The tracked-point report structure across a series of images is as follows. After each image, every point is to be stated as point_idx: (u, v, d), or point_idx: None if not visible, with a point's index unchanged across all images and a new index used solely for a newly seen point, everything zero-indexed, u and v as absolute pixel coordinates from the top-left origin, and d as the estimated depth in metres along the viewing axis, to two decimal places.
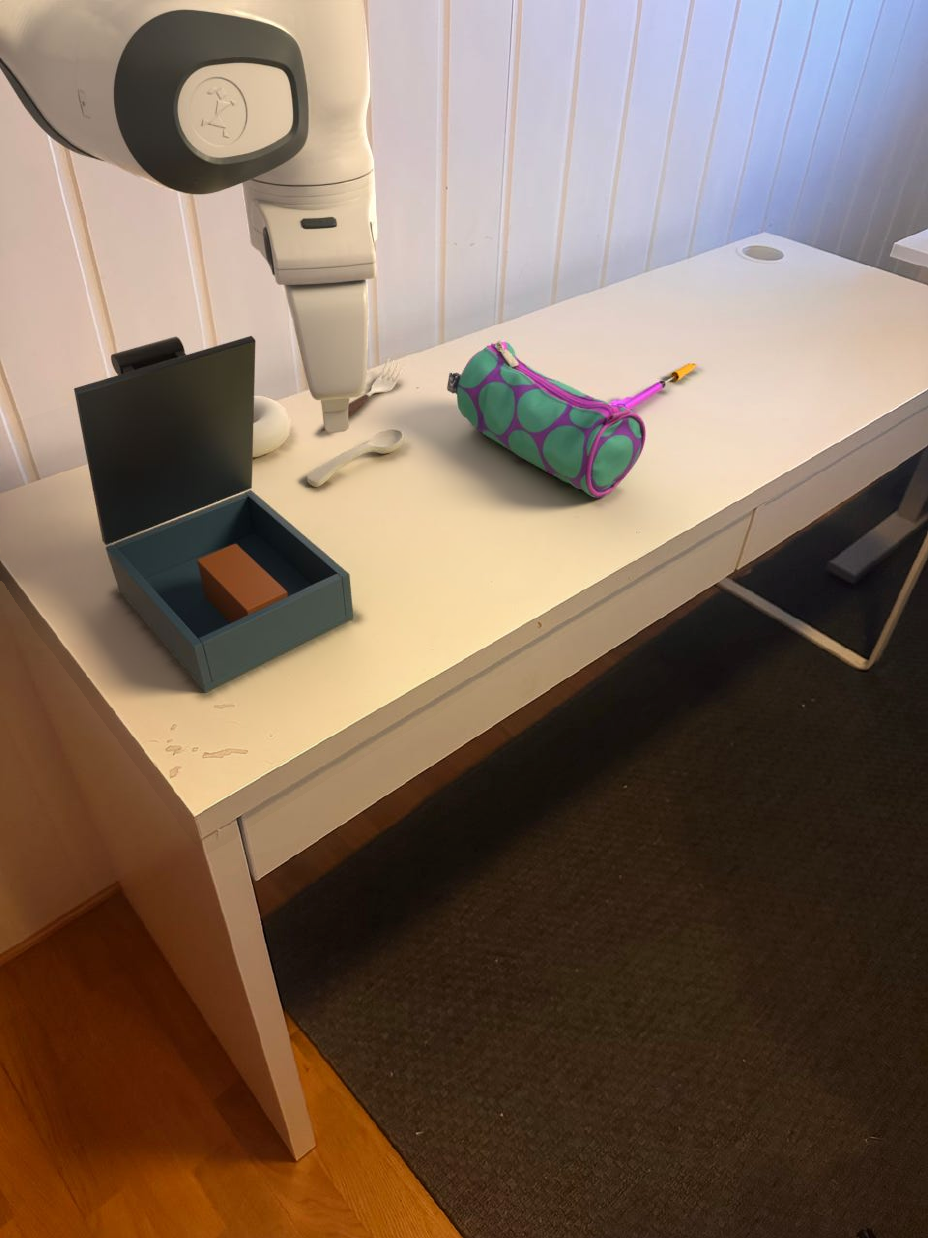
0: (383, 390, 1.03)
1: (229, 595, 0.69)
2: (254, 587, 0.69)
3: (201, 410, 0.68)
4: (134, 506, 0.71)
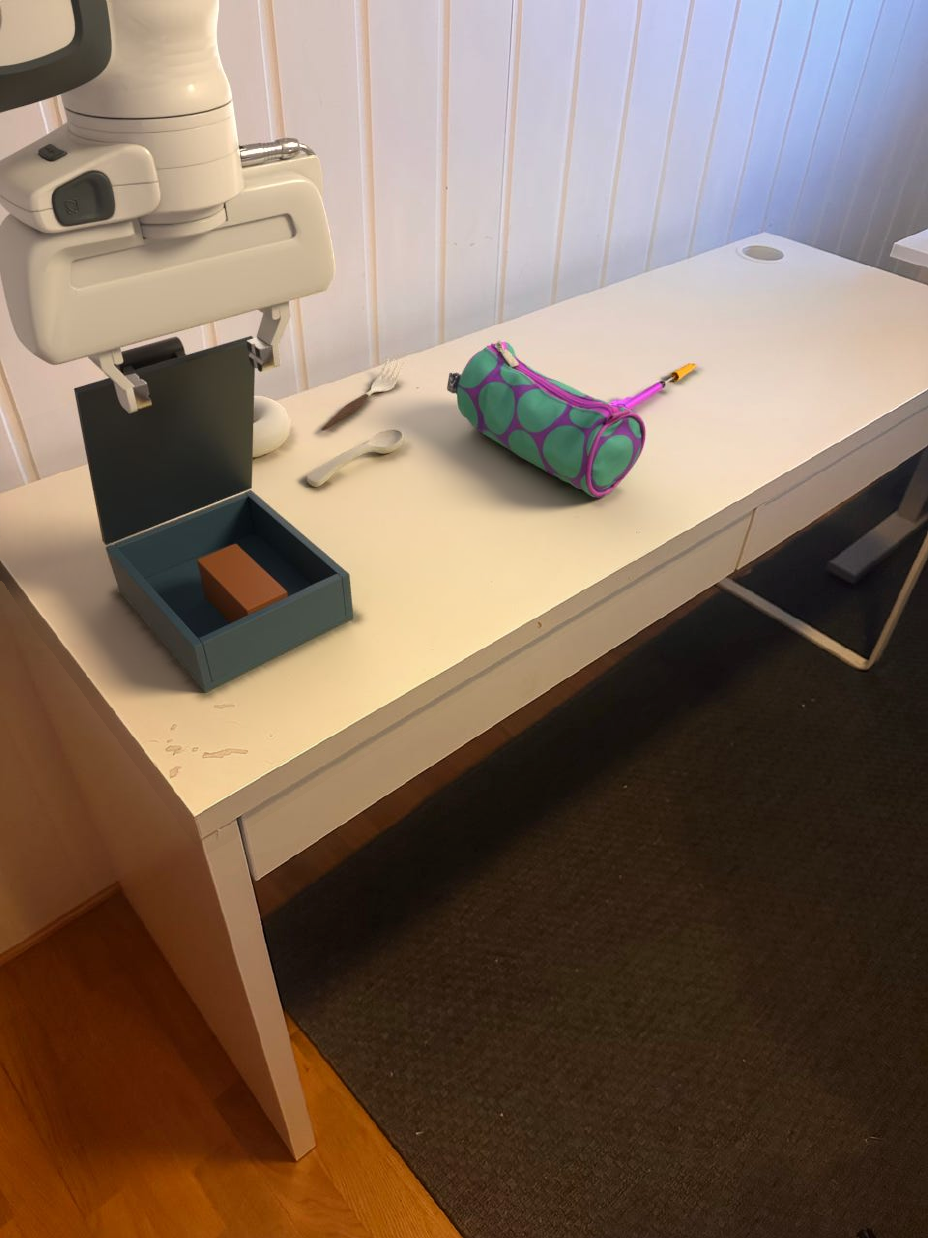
0: (383, 389, 1.03)
1: (229, 595, 0.69)
2: (254, 587, 0.69)
3: (201, 410, 0.68)
4: (134, 506, 0.71)
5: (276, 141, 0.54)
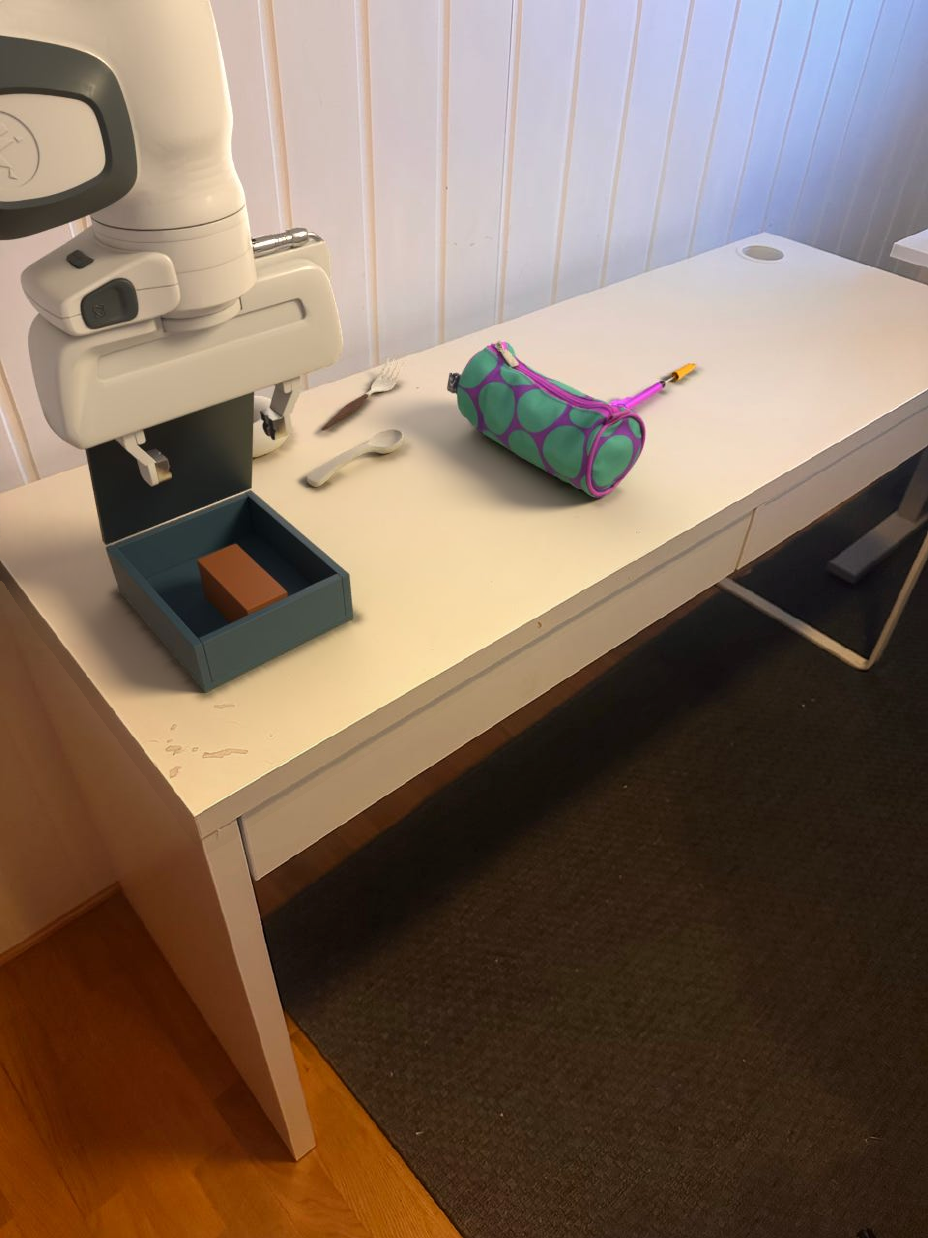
0: (383, 389, 1.03)
1: (229, 595, 0.69)
2: (254, 587, 0.69)
3: (201, 410, 0.68)
4: (134, 506, 0.71)
5: (286, 231, 0.57)
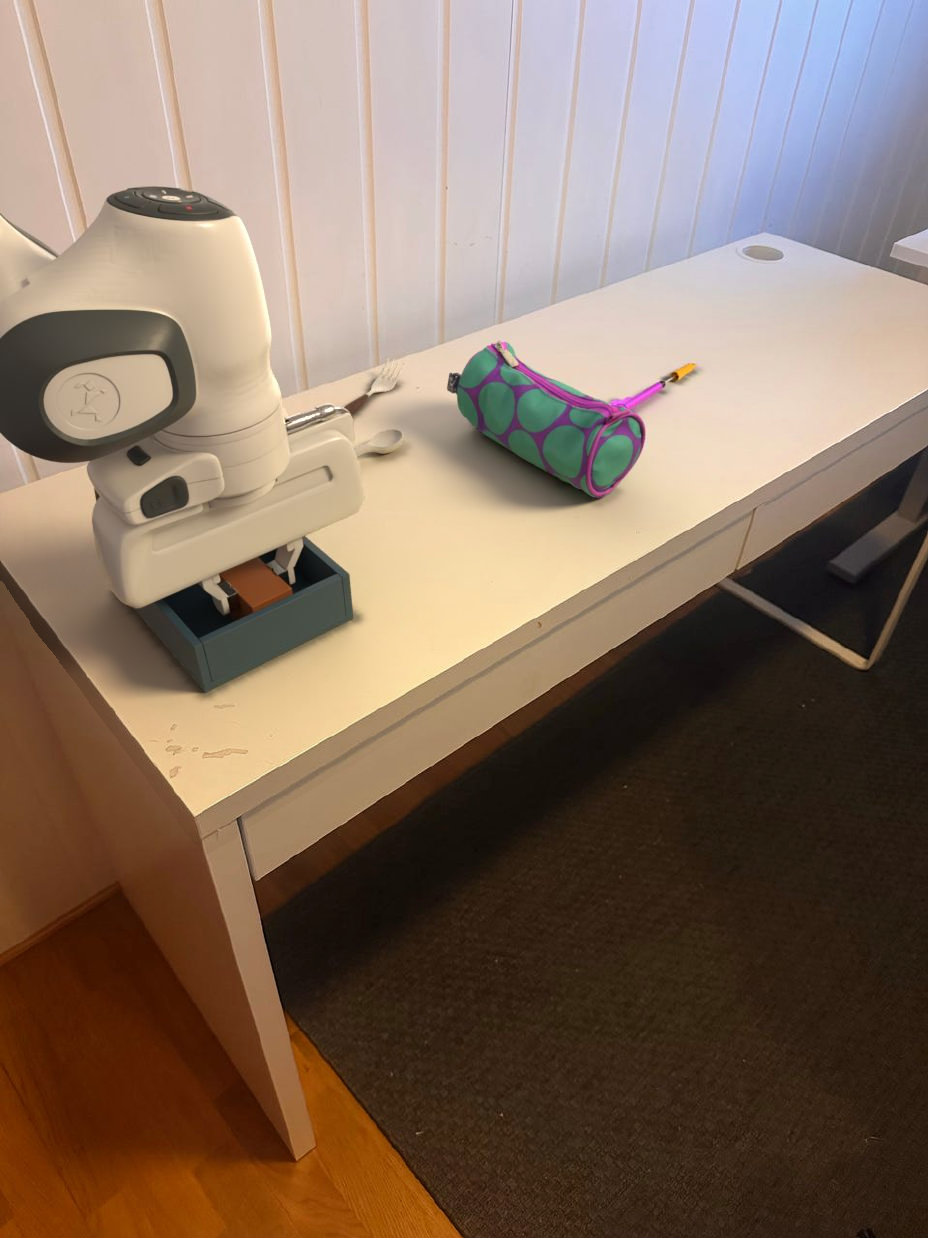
0: (383, 390, 1.03)
1: None
2: (258, 584, 0.69)
3: None
4: None
5: (316, 409, 0.65)
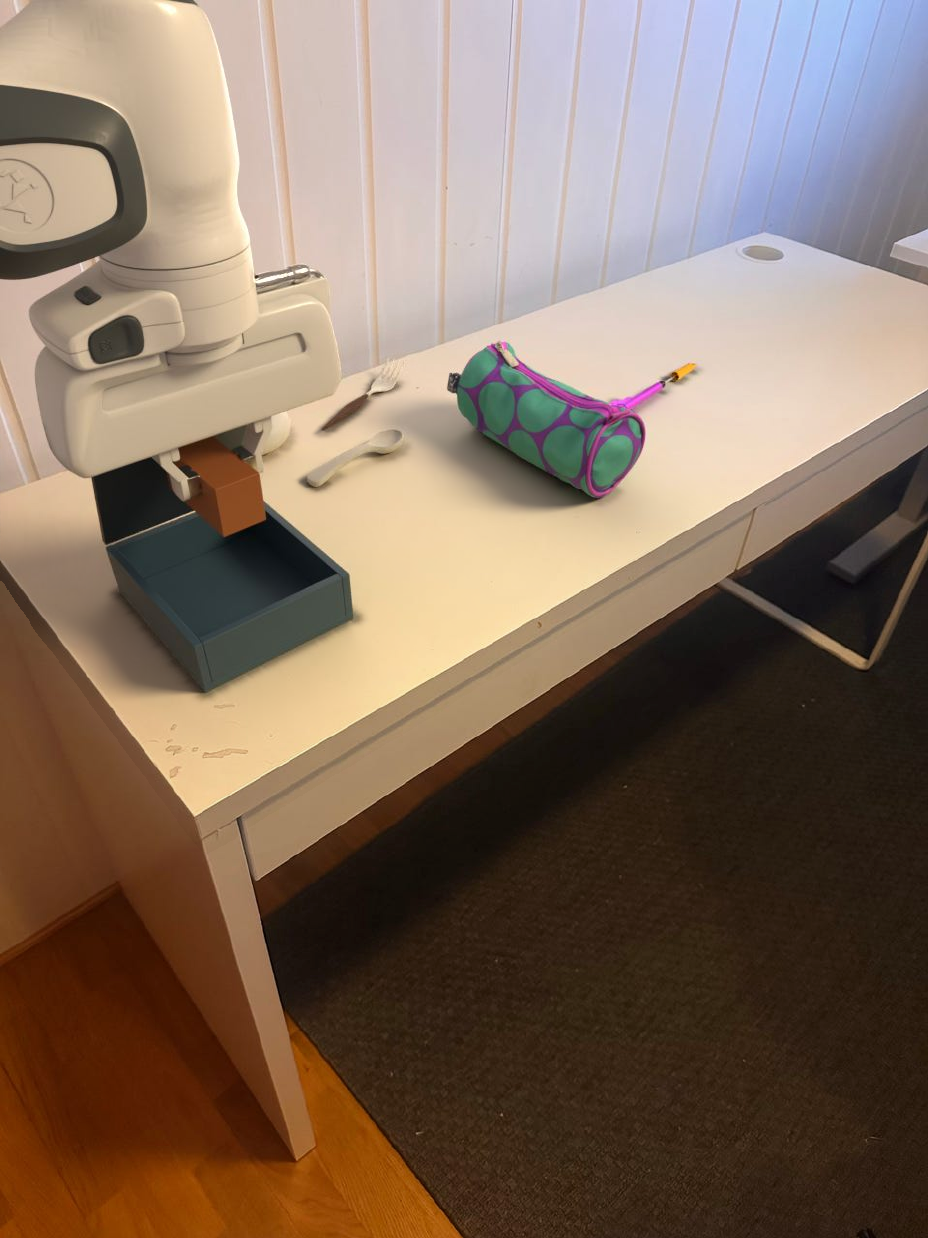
0: (383, 389, 1.03)
1: None
2: (223, 468, 0.63)
3: None
4: (134, 507, 0.71)
5: (288, 268, 0.59)
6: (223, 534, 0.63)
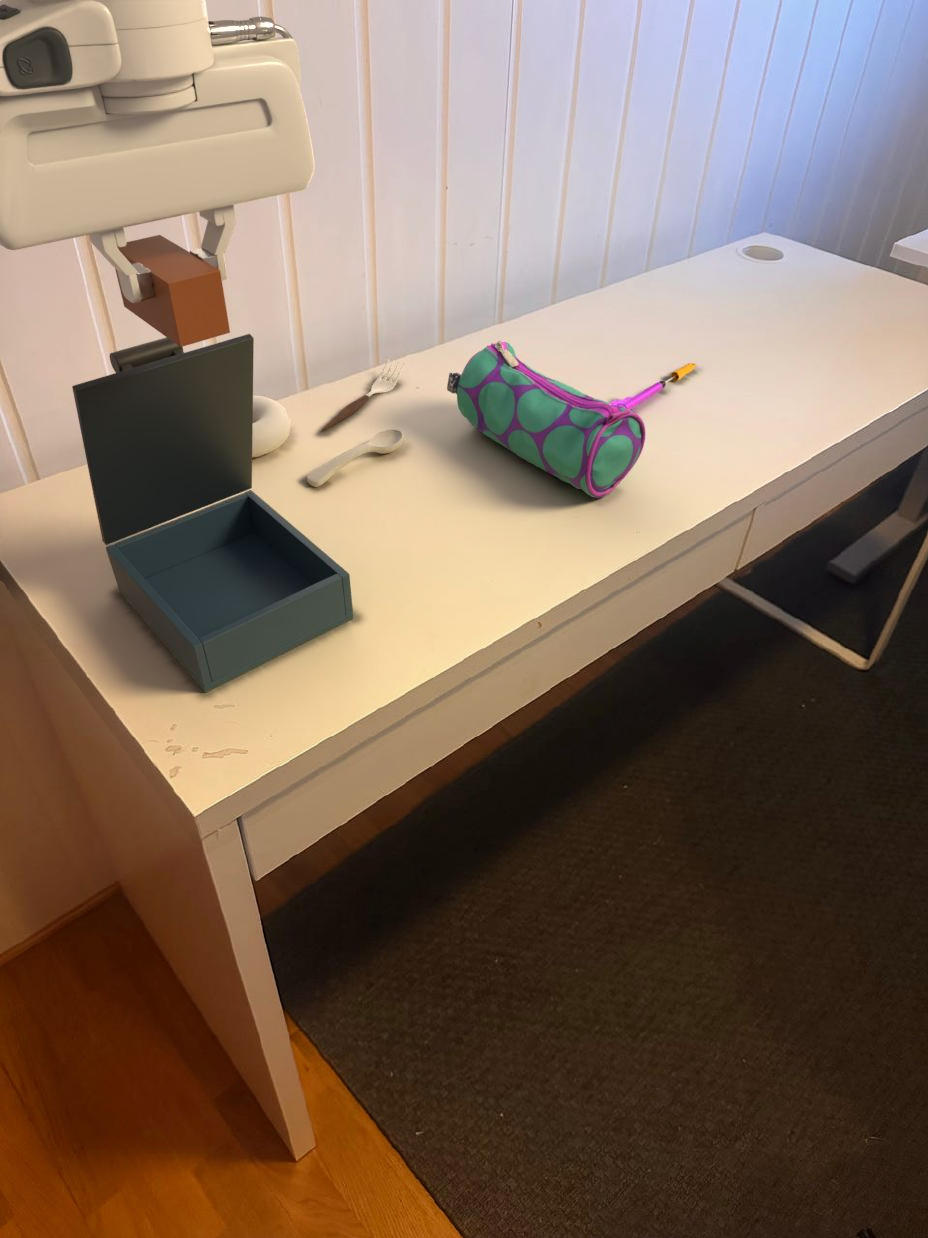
0: (383, 390, 1.03)
1: None
2: (178, 266, 0.55)
3: (200, 408, 0.68)
4: (134, 506, 0.71)
5: (249, 20, 0.51)
6: (180, 343, 0.55)
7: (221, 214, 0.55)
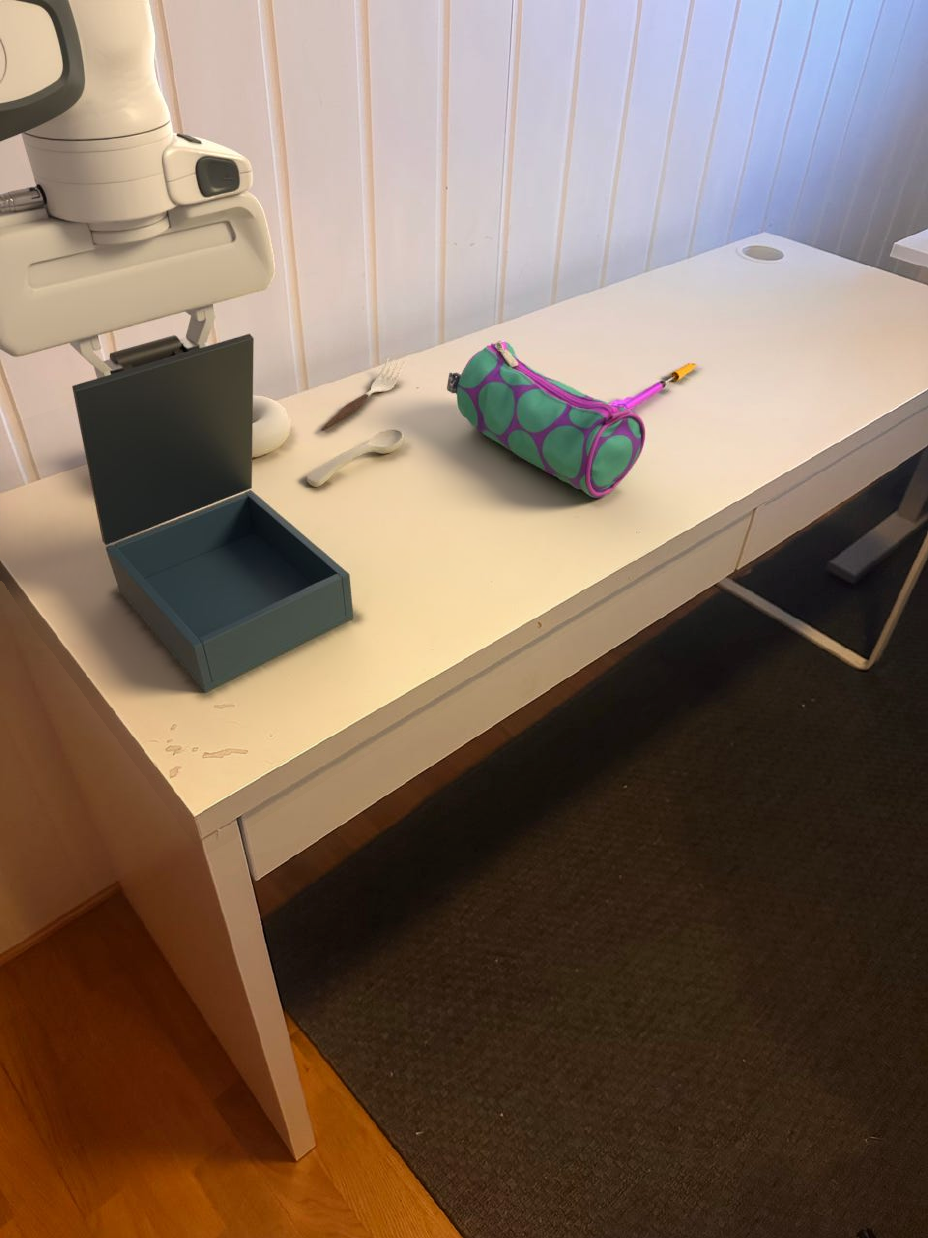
0: (383, 389, 1.03)
1: None
2: None
3: (200, 408, 0.68)
4: (134, 506, 0.71)
5: None
6: None
7: None
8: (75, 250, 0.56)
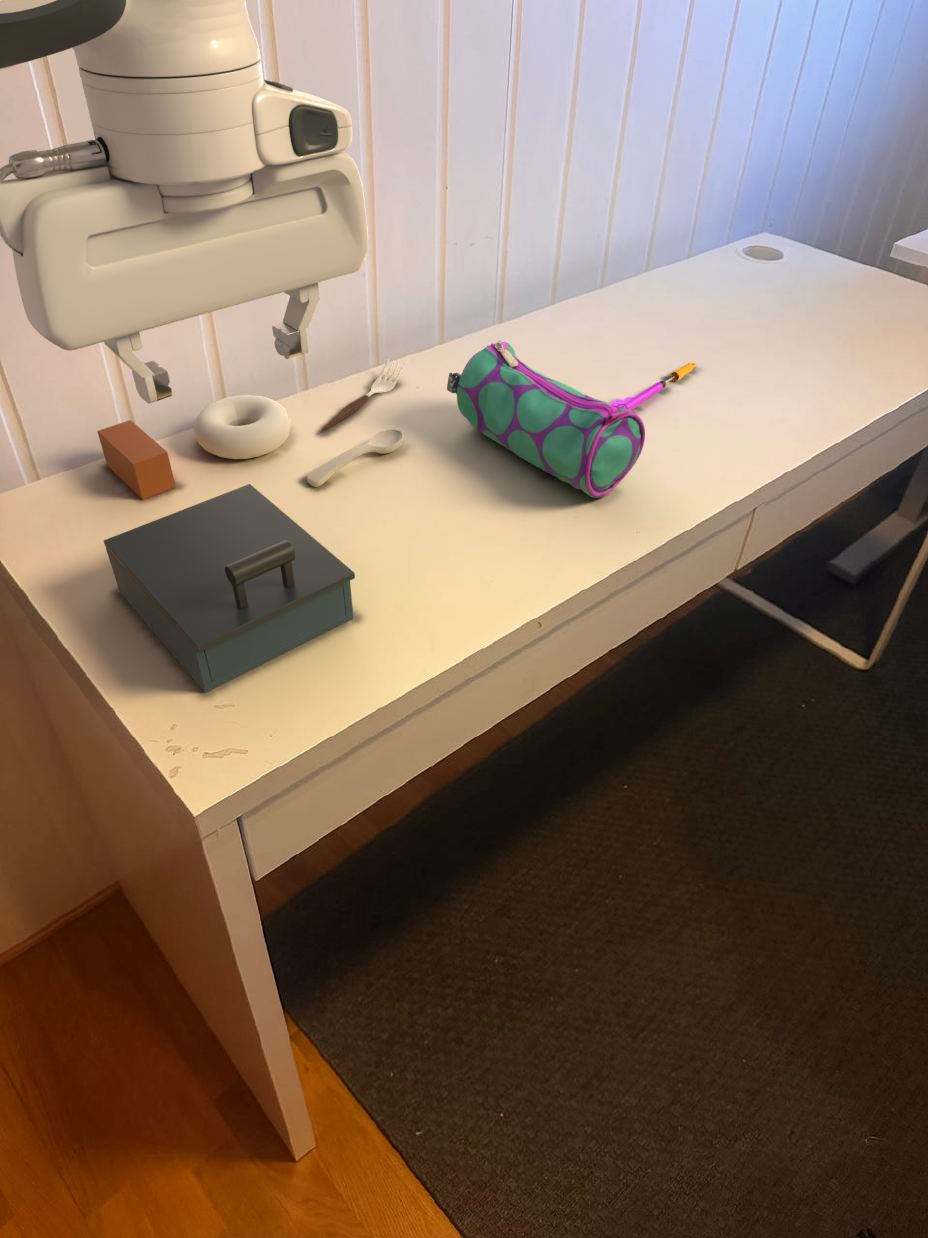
0: (383, 390, 1.03)
1: (121, 455, 0.85)
2: (141, 449, 0.85)
3: None
4: None
5: (39, 151, 0.43)
6: (142, 497, 0.86)
7: None
8: (142, 220, 0.46)
